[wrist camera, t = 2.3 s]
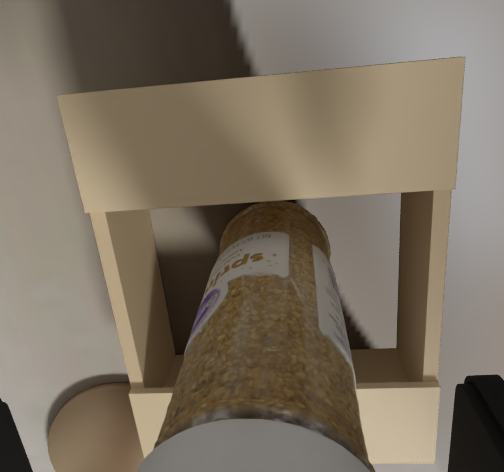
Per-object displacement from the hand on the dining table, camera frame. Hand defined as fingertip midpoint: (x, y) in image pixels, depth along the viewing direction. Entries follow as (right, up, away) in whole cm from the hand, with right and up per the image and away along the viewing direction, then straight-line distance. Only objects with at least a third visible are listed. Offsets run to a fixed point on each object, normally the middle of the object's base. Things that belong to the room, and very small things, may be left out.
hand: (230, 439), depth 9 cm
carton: (+1, +4, +9) cm, 10 cm away
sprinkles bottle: (+1, +4, +9) cm, 10 cm away
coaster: (-5, -7, +14) cm, 17 cm away
